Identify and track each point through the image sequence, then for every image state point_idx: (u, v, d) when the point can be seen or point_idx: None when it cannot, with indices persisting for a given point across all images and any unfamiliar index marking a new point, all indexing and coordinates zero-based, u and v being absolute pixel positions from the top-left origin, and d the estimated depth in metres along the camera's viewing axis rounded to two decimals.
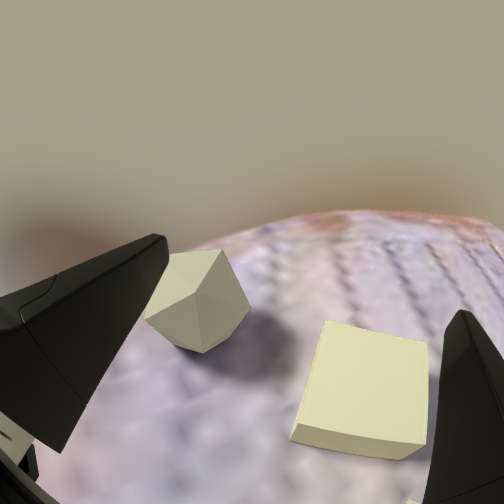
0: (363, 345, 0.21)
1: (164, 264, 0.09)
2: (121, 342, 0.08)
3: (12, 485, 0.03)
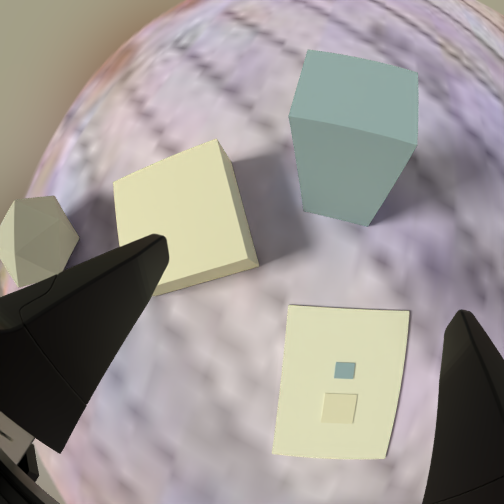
0: (150, 184, 0.21)
1: (164, 264, 0.09)
2: (121, 342, 0.08)
3: (12, 485, 0.03)
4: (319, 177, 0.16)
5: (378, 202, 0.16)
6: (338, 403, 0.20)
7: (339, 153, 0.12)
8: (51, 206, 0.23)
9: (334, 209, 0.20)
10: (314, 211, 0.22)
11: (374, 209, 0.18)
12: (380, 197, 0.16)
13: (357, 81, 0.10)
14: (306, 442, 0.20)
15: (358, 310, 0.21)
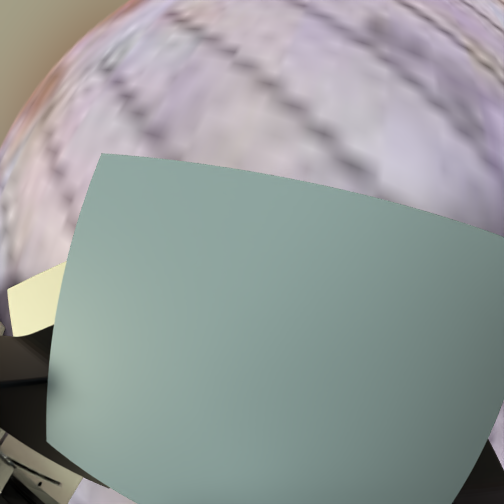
0: (37, 304, 0.13)
1: None
2: None
3: None
4: None
5: None
6: None
7: None
8: None
9: None
10: None
11: None
12: None
13: (255, 350, 0.03)
14: None
15: None
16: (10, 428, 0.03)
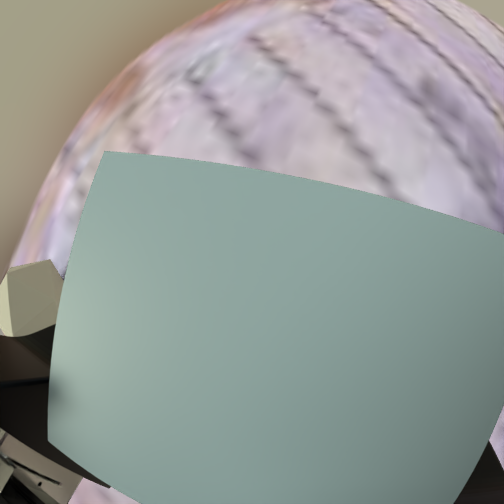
0: None
1: None
2: None
3: None
4: None
5: None
6: None
7: None
8: (46, 278, 0.21)
9: None
10: None
11: None
12: None
13: (260, 347, 0.03)
14: None
15: None
16: (10, 428, 0.03)
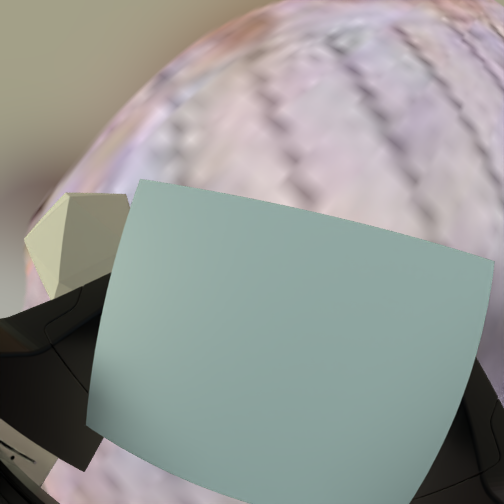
0: None
1: None
2: None
3: (12, 485, 0.03)
4: None
5: None
6: None
7: None
8: (121, 216, 0.18)
9: None
10: None
11: None
12: None
13: (272, 337, 0.03)
14: None
15: None
16: None
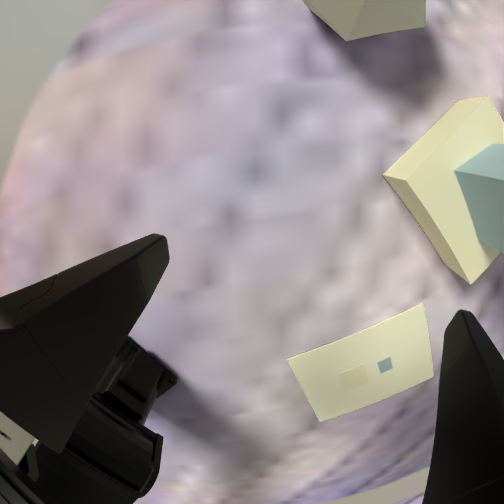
0: None
1: (164, 264, 0.09)
2: (121, 342, 0.08)
3: (12, 485, 0.03)
4: None
5: None
6: (358, 376, 0.24)
7: None
8: None
9: (485, 210, 0.13)
10: (464, 184, 0.14)
11: None
12: None
13: None
14: (313, 375, 0.24)
15: (429, 348, 0.23)
16: None
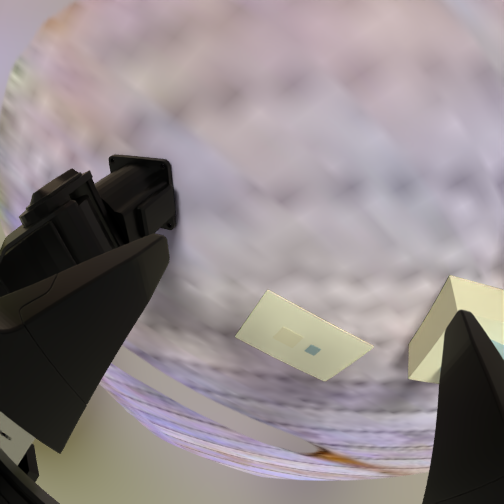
0: None
1: (164, 264, 0.09)
2: (121, 342, 0.08)
3: (12, 485, 0.03)
4: None
5: None
6: (291, 339, 0.30)
7: None
8: None
9: None
10: None
11: None
12: None
13: None
14: (269, 313, 0.29)
15: (343, 368, 0.31)
16: None
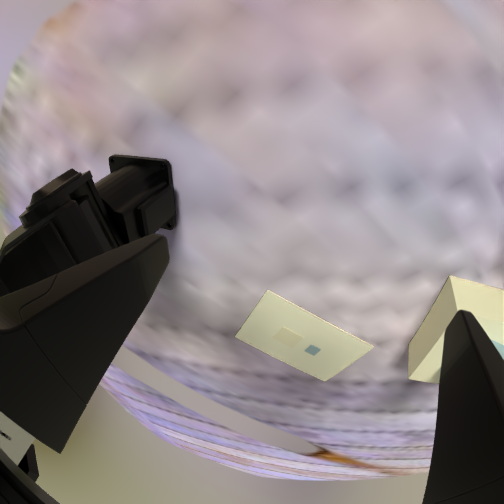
0: None
1: (164, 264, 0.09)
2: (121, 342, 0.08)
3: (12, 485, 0.03)
4: None
5: None
6: (291, 339, 0.30)
7: None
8: None
9: None
10: None
11: None
12: None
13: None
14: (269, 313, 0.29)
15: (343, 368, 0.31)
16: None
